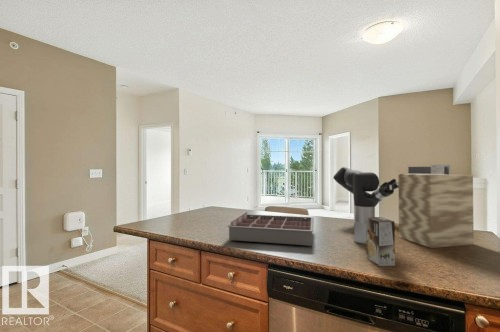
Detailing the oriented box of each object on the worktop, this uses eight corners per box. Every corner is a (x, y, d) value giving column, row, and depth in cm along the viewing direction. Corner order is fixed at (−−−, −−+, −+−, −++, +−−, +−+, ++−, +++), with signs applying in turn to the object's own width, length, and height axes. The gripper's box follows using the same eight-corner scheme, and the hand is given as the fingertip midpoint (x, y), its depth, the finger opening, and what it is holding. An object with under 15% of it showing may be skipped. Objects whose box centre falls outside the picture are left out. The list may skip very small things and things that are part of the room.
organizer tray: (313, 249, 110) (313, 226, 110) (226, 243, 120) (226, 222, 120) (313, 231, 141) (313, 213, 141) (244, 227, 151) (244, 211, 151)
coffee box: (396, 265, 91) (395, 221, 91) (379, 266, 90) (379, 221, 91) (380, 257, 100) (380, 216, 100) (365, 257, 100) (365, 216, 100)
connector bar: (450, 174, 123) (450, 164, 123) (442, 174, 122) (442, 164, 122) (414, 173, 142) (414, 165, 142) (407, 174, 141) (406, 165, 141)
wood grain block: (473, 244, 117) (472, 174, 117) (431, 247, 111) (430, 174, 112) (436, 234, 134) (436, 173, 135) (398, 237, 129) (398, 173, 129)
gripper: (372, 186, 162) (388, 174, 149) (390, 186, 165) (408, 174, 152) (376, 197, 158) (393, 186, 145) (395, 196, 162) (414, 185, 148)
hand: (401, 180), depth 148 cm, fingers open, 8 cm apart
